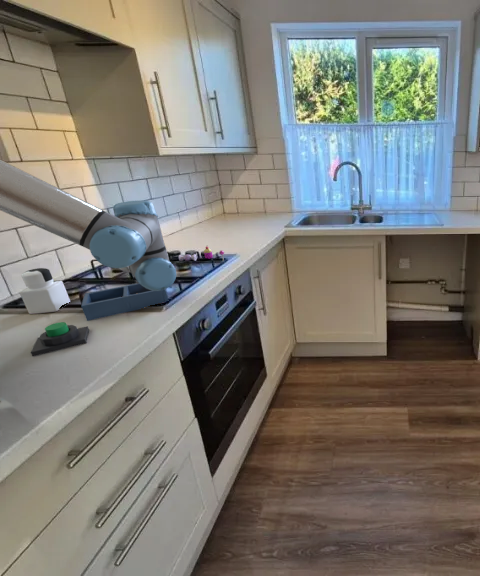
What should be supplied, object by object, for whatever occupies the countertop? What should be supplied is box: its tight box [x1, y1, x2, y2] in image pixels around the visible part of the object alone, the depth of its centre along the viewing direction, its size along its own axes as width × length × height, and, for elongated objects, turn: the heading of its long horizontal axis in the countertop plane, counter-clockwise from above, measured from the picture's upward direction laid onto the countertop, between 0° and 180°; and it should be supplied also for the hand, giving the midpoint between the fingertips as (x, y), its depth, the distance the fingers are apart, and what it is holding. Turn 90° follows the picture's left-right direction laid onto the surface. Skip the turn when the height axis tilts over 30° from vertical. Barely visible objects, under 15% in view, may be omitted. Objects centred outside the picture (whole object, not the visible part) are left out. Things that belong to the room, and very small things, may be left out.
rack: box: [81, 282, 170, 322], centre depth 107 cm, size 20×10×5 cm, turn 123°
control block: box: [30, 324, 90, 357], centre depth 88 cm, size 10×8×3 cm
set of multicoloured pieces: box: [178, 246, 225, 262], centre depth 145 cm, size 18×8×6 cm, turn 98°
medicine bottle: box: [18, 267, 71, 315], centre depth 105 cm, size 7×7×12 cm
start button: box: [44, 321, 69, 337], centre depth 87 cm, size 4×4×2 cm
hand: (125, 244), depth 105 cm, fingers closed on can, 7 cm apart
